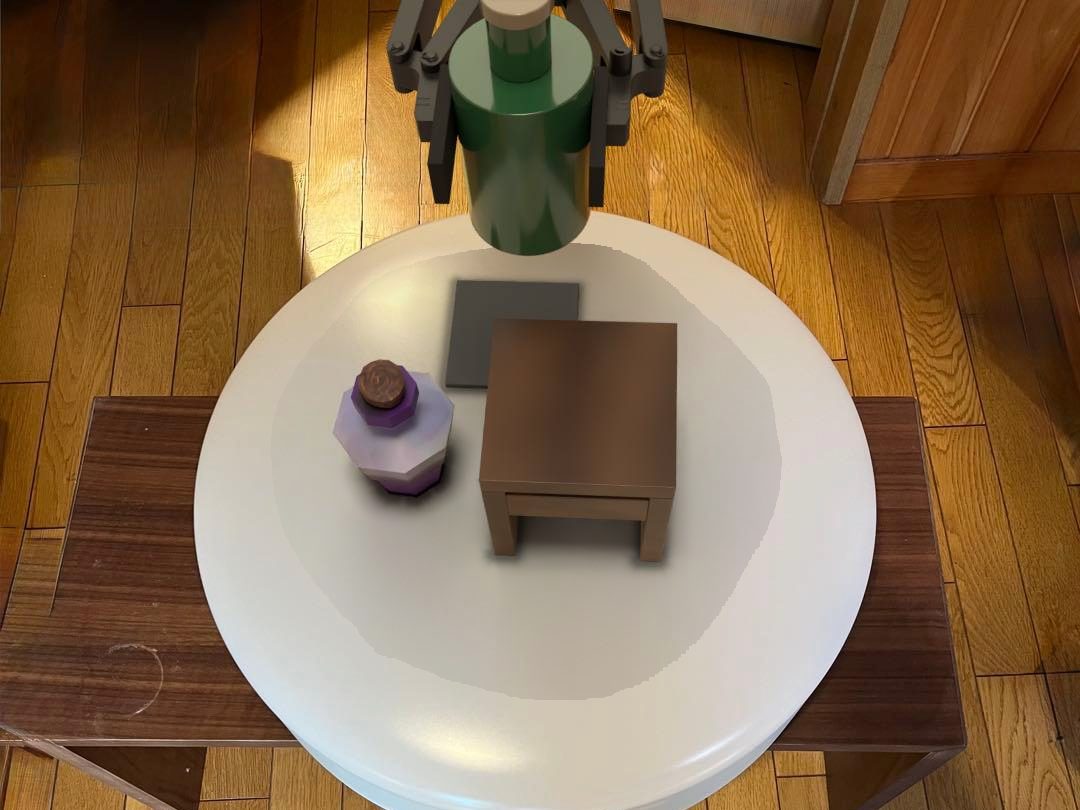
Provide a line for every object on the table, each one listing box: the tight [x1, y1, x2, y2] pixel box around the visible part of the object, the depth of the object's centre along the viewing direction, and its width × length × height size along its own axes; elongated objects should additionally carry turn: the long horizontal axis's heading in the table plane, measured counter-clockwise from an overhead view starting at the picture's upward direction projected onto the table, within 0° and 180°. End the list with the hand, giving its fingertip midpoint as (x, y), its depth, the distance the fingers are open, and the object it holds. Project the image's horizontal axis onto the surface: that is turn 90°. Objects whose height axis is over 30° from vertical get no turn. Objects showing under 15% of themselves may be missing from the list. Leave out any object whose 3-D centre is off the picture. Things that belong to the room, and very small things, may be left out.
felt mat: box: [444, 279, 580, 389], centre depth 77 cm, size 10×10×1 cm
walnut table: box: [478, 318, 678, 562], centre depth 67 cm, size 12×12×12 cm
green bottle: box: [448, 0, 594, 257], centre depth 49 cm, size 7×7×14 cm
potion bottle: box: [332, 358, 456, 499], centre depth 68 cm, size 9×9×12 cm
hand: (517, 185), depth 47 cm, fingers closed on green bottle, 7 cm apart
